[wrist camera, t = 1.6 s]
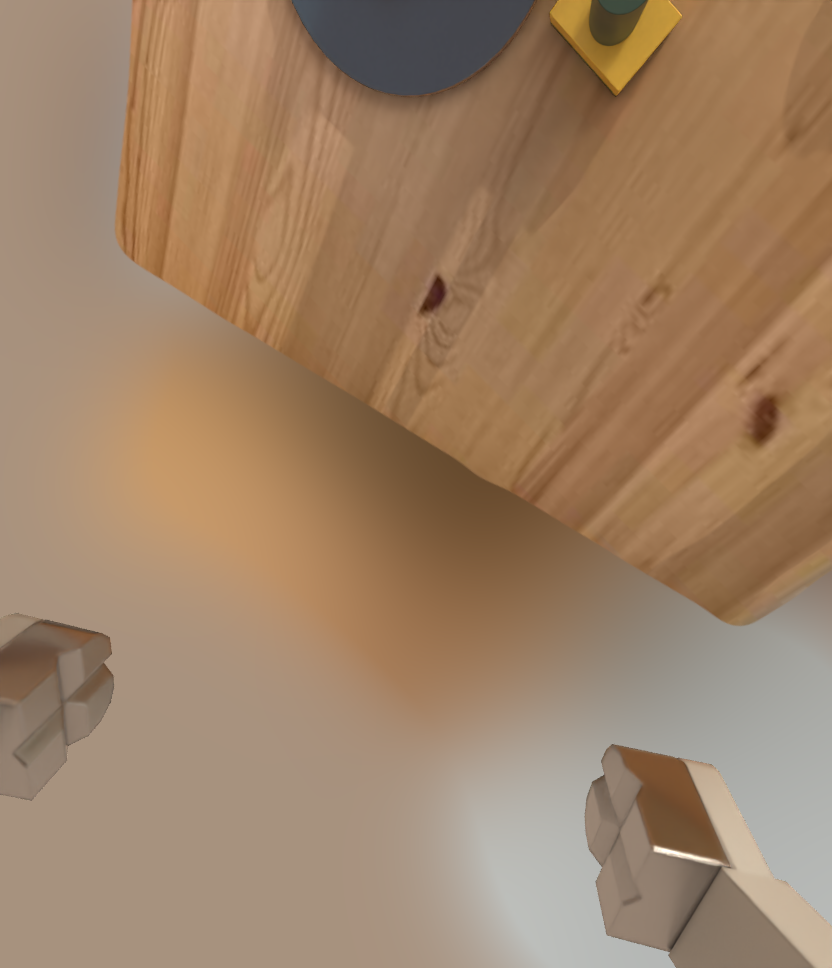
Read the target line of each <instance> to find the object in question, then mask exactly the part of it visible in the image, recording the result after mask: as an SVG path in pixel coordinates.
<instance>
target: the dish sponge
mask: <svg viewBox="0 0 832 968" xmlns="http://www.w3.org/2000/svg"><path fill="white" fill-rule="evenodd" d="M549 14H550V22H551V24H552V25H553V27H554V28H555V29H556V30H557V31H558V32H559V33H560V34H561V36H562V37H563V38H564V39H565V40H566V41H567V42H568V44H569V45H570V46H571V47H572V48H573V49H574V50H575V51H576V53H577V54H578V55H579V56H580V57H581V58H582V59H583V61H584V62H585V63H586V64H587V65H588V66H589V67H590V68H591V70H592V71H593V72H594V73H595V74H596V75H597V76H598V78H599V79H600V80H601V81H602V82H603V83H604V84H605V85H606V87H607V88H608V89H609V90H610V91H611V92H612V93H613V94H614V96H617V95H618V94H619V93H620V92H621V90H622V89H623V88H624V87H625V86H626V84H627V83H628V82H629V81H630V80H631V78H632V77H633V76H634V75H635V74H636V72H637V71H638V70H639V69H640V68H641V67H642V65H643V64H644V63H645V62H646V61H647V59H648V58H649V57H650V56H651V55H652V53H653V52H654V51H655V50H656V49H657V47H658V46H659V45H660V44H661V43H662V41H663V40H664V39H665V38H666V37H667V35H668V34H669V33H670V32H671V31H672V29H673V28H674V27H675V26H676V25H677V23H678V22H679V21H680V19H681V18H682V15H681V14H680V13H679V11H678V10H677V9H676V8H675V7H674V5H673V4H672V3H671V2H670V0H558V1H557V3H556V4H555V5H554V7H553V8H552V10H551V11H550V13H549Z"/></svg>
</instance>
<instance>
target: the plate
mask: <svg viewBox="0 0 832 968" xmlns="http://www.w3.org/2000/svg"><path fill="white" fill-rule="evenodd" d="M536 1H537V0H292V3H293V5H294V7H295V9H296V11H297V13H298V15H299V17H300V19H301V21H302V23H303V25H304V26H305V28H306V29H307V31H308V32H309V34H310V36H311V37H312V39H313V40H314V42H315V43H316V44H317V45H318V47H319V48H320V49H321V50H322V52H323V53H324V54H325V55H326V57H328V58H329V59H330V60H331V61H332V62H333V63H334V64H335V65H336V66H337V67H338V68H339V69H340V70H341V71H343V72H344V73H346V74H347V75H348V76H350V77H351V78H352V79H354V80H355V81H357V82H359V83H361V84H363V85H365V86H367V87H369V88H371V89H374V90H377V91H380V92H383V93H386V94H390V95H396V96H403V97H421V96H427V95H432V94H437V93H440V92H443V91H446V90H449V89H451V88H454V87H456V86H458V85H460V84H462V83H463V82H465V81H467V80H469V79H471V78H472V77H474V76H475V75H476V74H478V73H479V72H480V71H482V70H483V69H484V68H486V67H487V66H488V65H489V64H490V63H491V62H492V61H493V60H494V59H495V58H496V57H497V56H498V55H499V54H501V53H502V51H503V50H504V49H505V48H506V47H507V45H508V44H509V43H510V42H511V41H512V39H513V38H514V37H515V36H516V34H517V33H518V31H519V30H520V28H521V27H522V25H523V24H524V22H525V21H526V19H527V18H528V16H529V15H530V13H531V11H532V9H533V7H534V5H535V3H536Z"/></svg>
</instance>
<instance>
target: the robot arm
mask: <svg viewBox="0 0 832 968" xmlns="http://www.w3.org/2000/svg"><path fill="white" fill-rule="evenodd" d="M111 654H112V651H111V642H110V637H108V636H106V635H104V634H102V633H99V632H95V631H90V630H87V629H82V628H78V627H74V626H70V625H66V624H62V623H58V622H54V621H50V620H43V619H39V618H35V617H31V616H27V615H23V614H19V613H15V614H11V615H7V616H4V617H2V618H1V619H0V794H1V795H6V796H11V797H16V798H21V799H26V800H32V799H33V798H34V797H35V796H36V795H37V794H38V792H40V790H41V789H42V788H43V787H44V786H45V785H46V784H47V782H48V781H49V780H50V779H51V778H52V777H53V776H54V775H55V773H56V772H57V771H58V770H59V769H60V768H61V767H62V765H63V764H64V763H65V762H66V761H67V752H68V746H69V745H71V744H73V743H75V742H77V741H79V740H81V739H83V738H85V737H87V736H89V734H90V733H91V732H92V731H93V730H94V729H95V727H96V726H97V725H98V724H99V723H100V721H101V720H102V718H103V716H104V714H105V712H106V710H107V708H108V706H109V704H110V703H111V699H112V694H113V689H114V679H113V674H112V673H111V672H110V671H109V669H108V668H107V666H106V665H105V664H104V662H105V660H106V659H107V658H108V657H109V656H110V655H111ZM601 763H602V767H603V771H604V775H603V776H601V777H600V778H598V779H597V780H595V781H593V782H592V785H591V787H590V790H589V793H588V795H587V799H586V809H585V829H586V836H587V842H588V847H589V850H590V852H591V853H592V854H593V856H594V857H595V858H596V860H597V861H598V862H599V864H600V865H601V866H602V869H601V871H600V874H599V876H598V878H597V880H596V886H597V890H598V896H599V901H600V905H601V910H602V915H603V919H604V925H605V929H606V934H607V935H608V936H612V937H615V938H619V939H623V940H626V941H630V942H634V943H638V944H642V945H645V946H649V947H653V948H657V949H660V950H664V951H668V952H670V954H669V957H670V959H671V960H672V962H673V963H674V965H675V967H676V968H832V926H831V925H830V924H829V923H828V922H827V921H826V920H825V919H824V918H823V917H822V916H821V915H820V914H819V913H818V912H817V911H816V910H815V909H814V908H813V907H812V906H811V905H809V903H807V902H806V901H805V900H804V899H803V898H802V897H801V896H800V895H799V894H798V893H797V892H796V891H795V890H794V889H793V888H792V887H791V886H790V885H789V884H788V883H787V882H785V881H782V880H778V879H774V877H773V875H772V873H771V871H770V869H769V867H768V865H767V863H766V861H765V859H764V857H763V855H762V854H761V851H760V850H759V848H758V846H757V844H756V842H755V840H754V838H753V836H752V834H751V832H750V830H749V828H748V826H747V824H746V822H745V820H744V819H743V817H742V815H741V813H740V811H739V809H738V807H737V805H736V803H735V801H734V799H733V797H732V795H731V794H730V791H729V789H728V787H727V786H726V784H725V782H724V780H723V778H722V776H721V774H720V773H719V771H718V770H717V769H716V768H715V767H714V766H713V765H711V764H707V763H702V762H697V761H692V760H687V759H682V758H675V757H672V756H667V755H662V754H657V753H652V752H648V751H642V750H638V749H633V748H629V747H624V746H619V745H614V744H612V745H611V746H610V747H609V748H608V749H607V750H606V751H605V753H604V756H603V758H602V760H601Z"/></svg>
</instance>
